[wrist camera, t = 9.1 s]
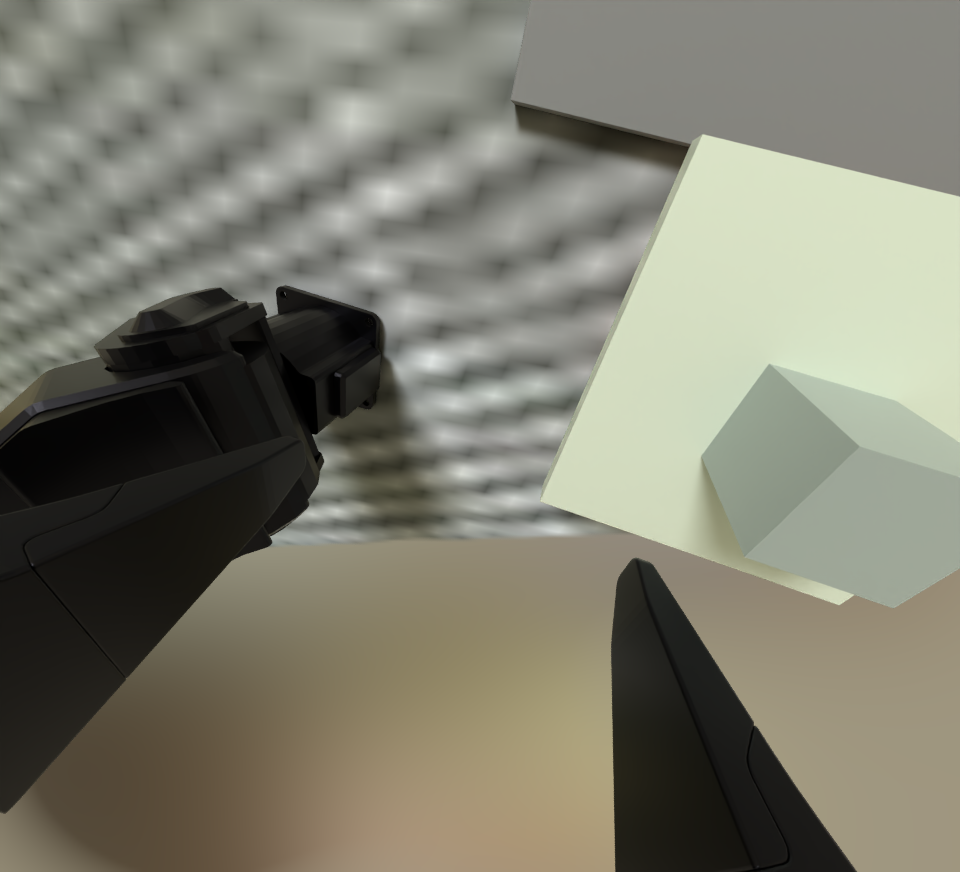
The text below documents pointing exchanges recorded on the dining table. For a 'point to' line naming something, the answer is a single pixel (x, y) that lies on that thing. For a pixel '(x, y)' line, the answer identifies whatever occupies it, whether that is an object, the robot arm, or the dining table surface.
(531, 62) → the grey square panel
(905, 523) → the cover
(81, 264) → the dining table surface
